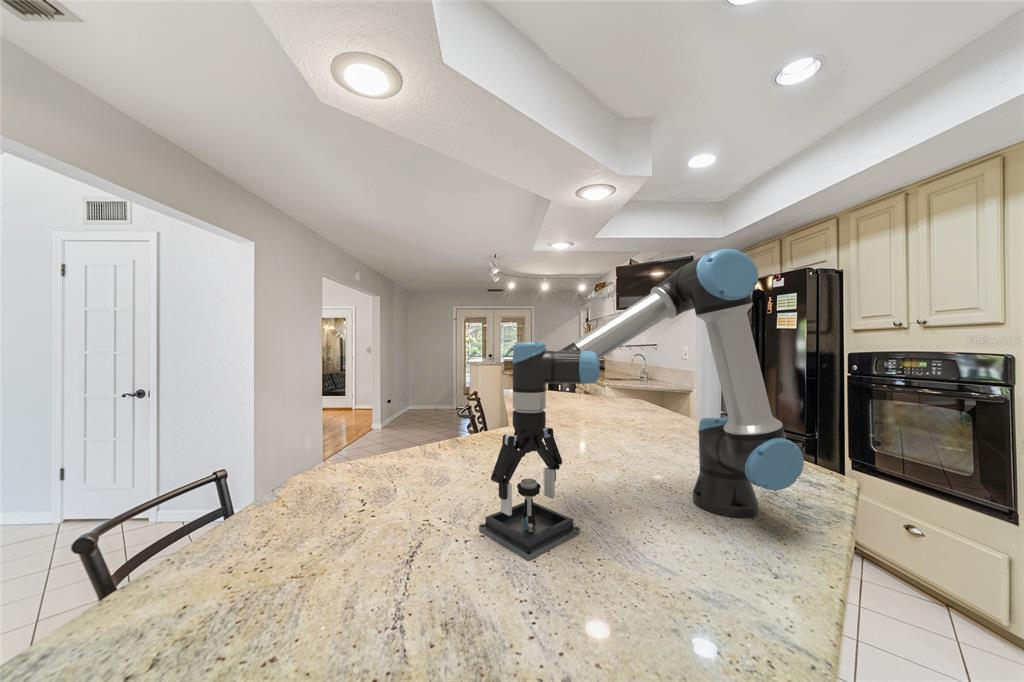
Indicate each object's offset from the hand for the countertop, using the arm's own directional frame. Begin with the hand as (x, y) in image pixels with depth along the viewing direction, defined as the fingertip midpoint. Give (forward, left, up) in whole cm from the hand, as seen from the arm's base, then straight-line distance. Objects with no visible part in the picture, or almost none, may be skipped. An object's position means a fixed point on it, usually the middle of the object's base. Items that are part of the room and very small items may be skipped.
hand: (529, 504), depth 83 cm
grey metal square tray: (0, 0, -6) cm, 6 cm away
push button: (0, 0, -5) cm, 5 cm away
